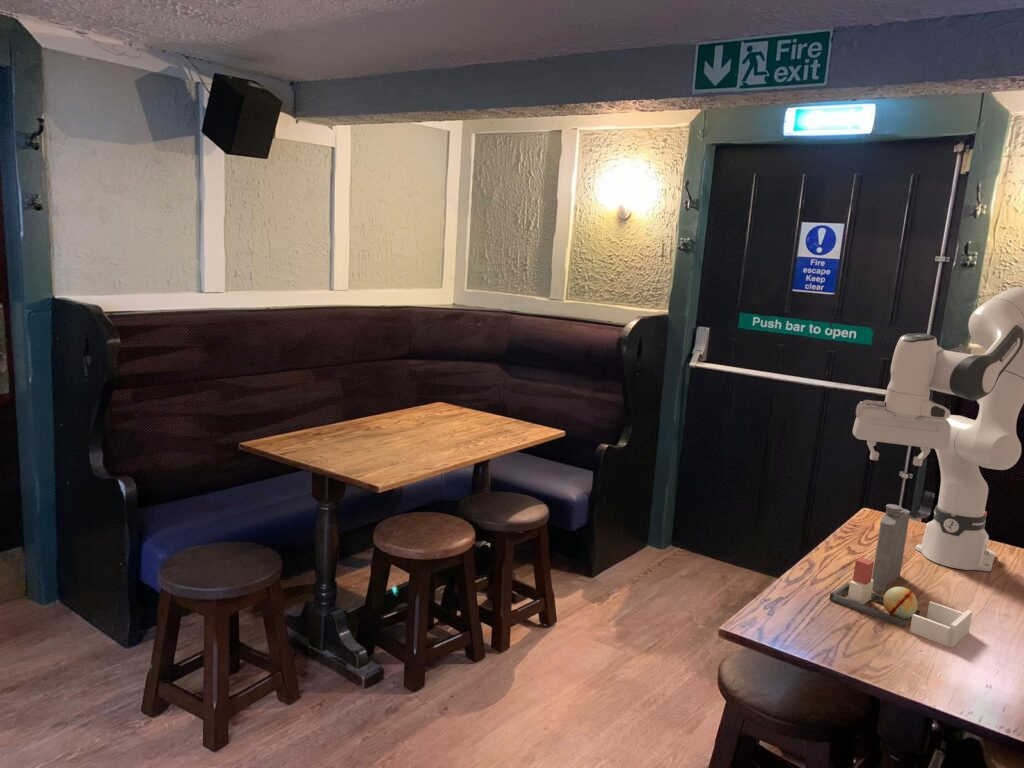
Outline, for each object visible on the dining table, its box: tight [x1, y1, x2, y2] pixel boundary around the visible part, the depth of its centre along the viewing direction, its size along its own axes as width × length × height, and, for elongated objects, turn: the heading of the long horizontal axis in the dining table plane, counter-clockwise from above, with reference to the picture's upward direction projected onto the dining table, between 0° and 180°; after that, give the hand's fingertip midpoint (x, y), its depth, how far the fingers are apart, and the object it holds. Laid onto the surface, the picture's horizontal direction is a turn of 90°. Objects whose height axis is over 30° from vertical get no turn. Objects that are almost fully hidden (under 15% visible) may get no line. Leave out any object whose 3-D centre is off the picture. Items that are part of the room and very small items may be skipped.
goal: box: [909, 600, 973, 649], centre depth 170 cm, size 11×8×5 cm
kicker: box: [847, 556, 875, 605], centre depth 182 cm, size 6×3×10 cm, turn 133°
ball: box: [883, 586, 919, 620], centre depth 176 cm, size 7×7×7 cm
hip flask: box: [871, 503, 911, 594], centre depth 194 cm, size 16×4×20 cm, turn 138°
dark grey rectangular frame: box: [829, 583, 922, 629], centre depth 181 cm, size 9×17×2 cm, turn 43°
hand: (895, 462), depth 180 cm, fingers open, 8 cm apart
